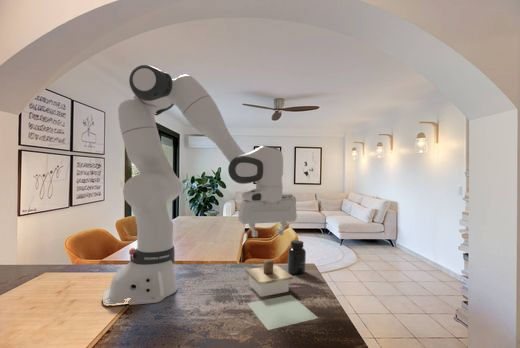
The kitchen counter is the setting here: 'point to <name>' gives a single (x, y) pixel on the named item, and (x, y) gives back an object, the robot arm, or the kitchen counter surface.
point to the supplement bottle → (296, 258)
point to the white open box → (269, 287)
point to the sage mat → (281, 312)
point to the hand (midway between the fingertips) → (267, 235)
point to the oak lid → (268, 273)
